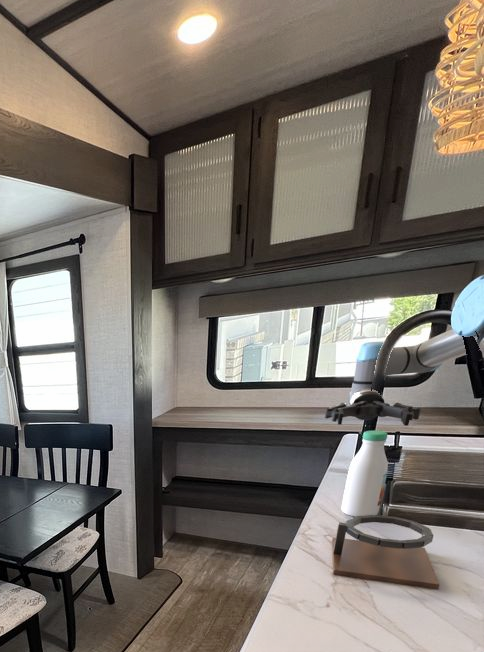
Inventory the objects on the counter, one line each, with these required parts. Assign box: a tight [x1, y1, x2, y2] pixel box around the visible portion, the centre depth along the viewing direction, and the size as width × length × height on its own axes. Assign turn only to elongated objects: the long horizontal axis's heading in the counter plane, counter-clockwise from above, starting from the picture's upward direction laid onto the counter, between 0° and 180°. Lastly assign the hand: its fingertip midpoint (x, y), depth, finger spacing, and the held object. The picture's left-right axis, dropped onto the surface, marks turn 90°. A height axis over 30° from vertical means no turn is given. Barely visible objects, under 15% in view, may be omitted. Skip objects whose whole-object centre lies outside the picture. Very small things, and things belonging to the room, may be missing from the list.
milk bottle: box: [340, 430, 389, 517], centre depth 112 cm, size 8×8×20 cm
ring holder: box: [331, 514, 441, 590], centre depth 91 cm, size 16×16×8 cm
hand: (373, 419), depth 115 cm, fingers open, 13 cm apart
